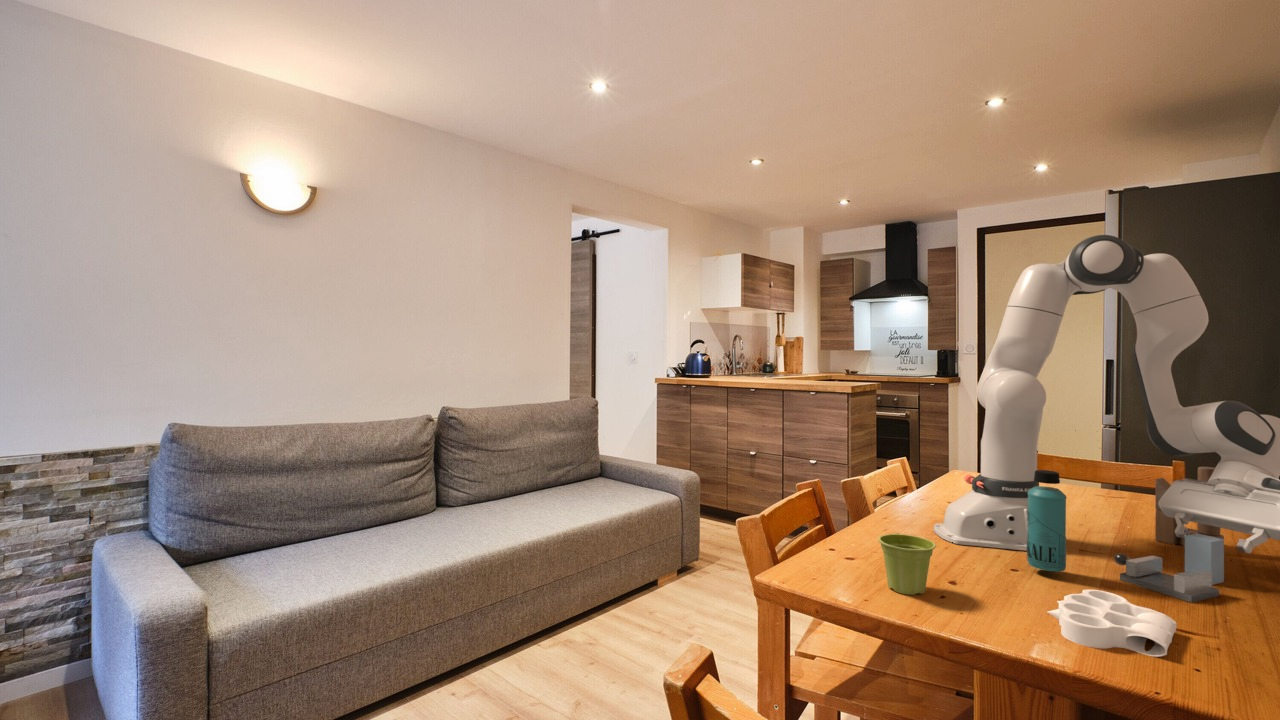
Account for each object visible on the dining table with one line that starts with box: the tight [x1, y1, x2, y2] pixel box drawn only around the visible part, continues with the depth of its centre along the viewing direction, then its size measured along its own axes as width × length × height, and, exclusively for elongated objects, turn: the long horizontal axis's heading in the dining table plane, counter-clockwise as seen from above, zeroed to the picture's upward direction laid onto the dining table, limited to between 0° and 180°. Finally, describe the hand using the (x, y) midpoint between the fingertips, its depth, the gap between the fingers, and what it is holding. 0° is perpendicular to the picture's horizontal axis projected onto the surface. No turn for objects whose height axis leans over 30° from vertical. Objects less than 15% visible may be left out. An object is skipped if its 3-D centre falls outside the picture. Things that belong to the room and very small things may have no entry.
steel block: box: [1184, 533, 1225, 586], centre depth 111 cm, size 4×4×8 cm
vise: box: [1119, 569, 1220, 603], centre depth 107 cm, size 8×11×4 cm
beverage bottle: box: [1026, 469, 1067, 572], centre depth 114 cm, size 6×7×20 cm
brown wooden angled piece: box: [1154, 466, 1225, 547], centre depth 131 cm, size 4×11×18 cm, turn 29°
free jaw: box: [1113, 553, 1163, 577], centre depth 113 cm, size 8×6×3 cm
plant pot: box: [878, 533, 936, 596], centre depth 107 cm, size 9×9×9 cm
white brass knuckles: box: [1047, 589, 1178, 658], centre depth 91 cm, size 3×18×15 cm
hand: (1210, 542), depth 112 cm, fingers open, 8 cm apart
